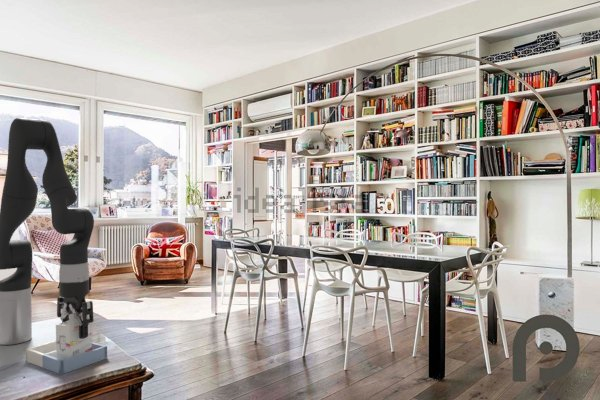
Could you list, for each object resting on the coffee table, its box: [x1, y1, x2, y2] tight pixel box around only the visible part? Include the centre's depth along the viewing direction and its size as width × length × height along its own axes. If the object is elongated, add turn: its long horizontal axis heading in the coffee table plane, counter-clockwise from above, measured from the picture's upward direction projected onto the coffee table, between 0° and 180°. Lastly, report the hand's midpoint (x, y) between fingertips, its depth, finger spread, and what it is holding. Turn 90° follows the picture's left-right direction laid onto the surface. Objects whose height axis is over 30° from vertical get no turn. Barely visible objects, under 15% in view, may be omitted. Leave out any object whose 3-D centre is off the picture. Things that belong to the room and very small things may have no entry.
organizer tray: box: [25, 340, 108, 375], centre depth 126 cm, size 18×14×4 cm
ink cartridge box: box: [55, 313, 93, 360], centre depth 124 cm, size 9×5×15 cm, turn 166°
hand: (75, 335), depth 124 cm, fingers open, 8 cm apart
